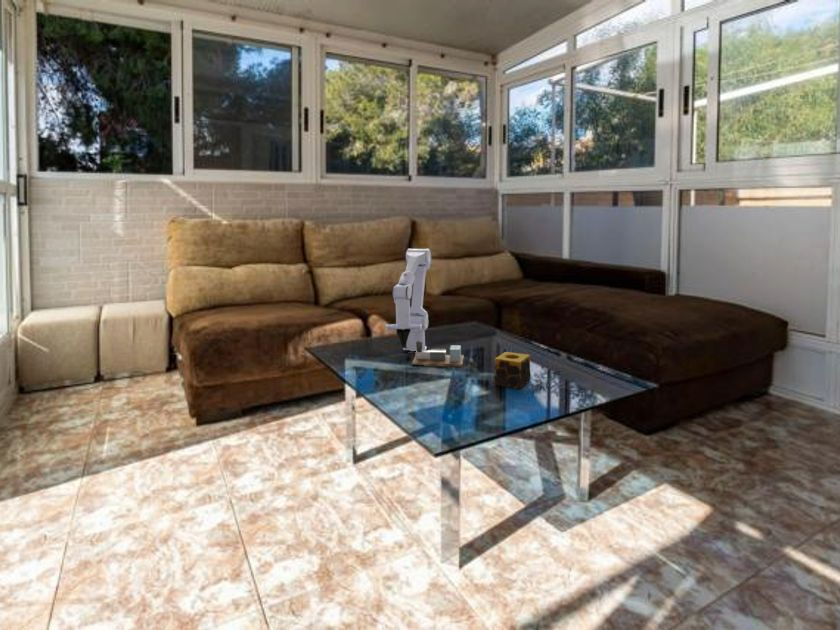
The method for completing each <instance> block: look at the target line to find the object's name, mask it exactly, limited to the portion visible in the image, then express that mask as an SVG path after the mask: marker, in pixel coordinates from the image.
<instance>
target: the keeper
mask: <svg viewBox="0 0 840 630" xmlns="http://www.w3.org/2000/svg"><path fill="white" fill-rule="evenodd" d="M449 355H450V362H460V360H461V355H462V346H461V345H458V344H456V345H453V344H452V345H450V347H449Z"/></svg>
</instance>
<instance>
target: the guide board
mask: <svg viewBox="0 0 840 630" xmlns="http://www.w3.org/2000/svg"><path fill="white" fill-rule="evenodd" d="M464 357H465V355H464V354H461V360H460V362H450V354H446V359H445V361H430V359H416V354H415V356H414V358H413V360H412V362H411V365H412V364H417V365H424V366H423V367H463V364H464Z"/></svg>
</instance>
